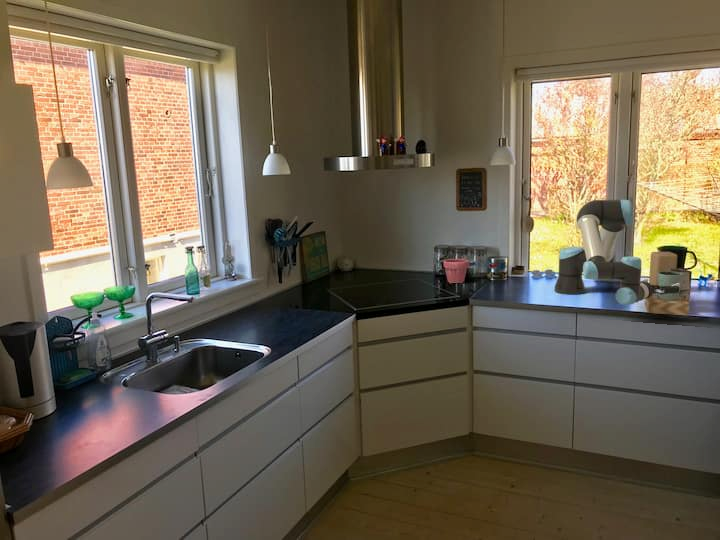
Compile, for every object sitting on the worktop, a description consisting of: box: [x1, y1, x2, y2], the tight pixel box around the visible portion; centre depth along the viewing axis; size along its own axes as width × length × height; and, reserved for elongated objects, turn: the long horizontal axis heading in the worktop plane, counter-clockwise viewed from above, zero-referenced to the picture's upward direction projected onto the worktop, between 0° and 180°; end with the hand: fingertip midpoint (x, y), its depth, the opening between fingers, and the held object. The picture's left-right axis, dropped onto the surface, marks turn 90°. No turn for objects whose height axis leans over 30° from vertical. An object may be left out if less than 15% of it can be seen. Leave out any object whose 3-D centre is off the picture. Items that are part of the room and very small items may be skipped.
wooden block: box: [648, 251, 678, 288], centre depth 311 cm, size 10×10×20 cm
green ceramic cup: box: [656, 271, 683, 301], centre depth 271 cm, size 10×10×12 cm
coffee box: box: [669, 267, 693, 304], centre depth 285 cm, size 9×6×16 cm
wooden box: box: [644, 294, 690, 316], centre depth 273 cm, size 16×16×5 cm
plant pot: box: [443, 258, 469, 284], centre depth 345 cm, size 14×14×13 cm
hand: (662, 284), depth 268 cm, fingers open, 13 cm apart
